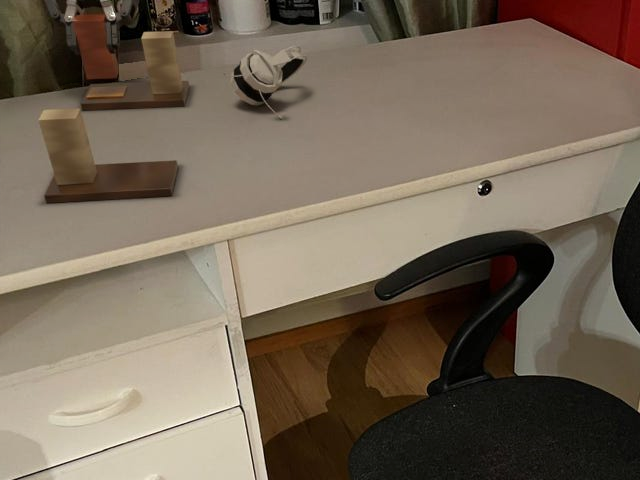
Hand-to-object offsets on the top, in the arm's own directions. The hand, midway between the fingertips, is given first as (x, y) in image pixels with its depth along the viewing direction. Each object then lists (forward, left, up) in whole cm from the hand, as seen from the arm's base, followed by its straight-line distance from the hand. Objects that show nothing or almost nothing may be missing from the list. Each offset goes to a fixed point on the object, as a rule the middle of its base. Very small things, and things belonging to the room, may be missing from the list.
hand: (94, 51), depth 120 cm
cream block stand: (+5, -27, -8) cm, 29 cm away
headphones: (+22, -4, -8) cm, 24 cm away
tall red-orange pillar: (0, +2, -4) cm, 4 cm away
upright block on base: (+4, +2, -8) cm, 9 cm away
